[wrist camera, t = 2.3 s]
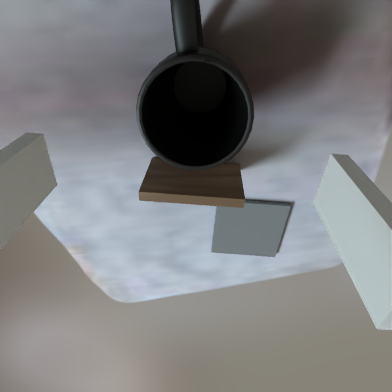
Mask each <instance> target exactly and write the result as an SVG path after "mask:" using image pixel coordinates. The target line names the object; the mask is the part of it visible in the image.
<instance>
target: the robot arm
mask: <svg viewBox="0 0 392 392" xmlns="http://www.w3.org/2000/svg"><path fill="white" fill-rule="evenodd" d="M56 186H57V182H56V179H55V175H54V171H53V168H52V164H51V161H50V157H49V154H48V150H47V146H46V143H45V139H44V136H43V134H38V133H25V134H24V135H22V136H21V137H19V138H18V139H16V140H15V141H13V142H12V143H10V144H9V145H8V146H6V147H5V148H3V149H2V150H0V250H1V248H2V247H3V246H4V245H5V244H6V243H7V242H8V240H9V239H10V238H11V237H12V236H13V235H14V234H15V232H16V231H17V230H18V229H19V228H20V227H21V225H22V224H23V223H24V222H25V221H26V220H27V219H28V218H29V216H30V215H31V214H32V213H33V212H34V211H35V210H36V208H37V207H38V206H39V205H40V204H41V203H42V202H43V200H44V199H45V198H46V197H47V196H48V195H49V194H50V192H51V191H52V190H53V189H54V188H55V187H56ZM313 204H314V206H315V208H316V210H317V212H318V214H319V216H320V218H321V220H322V222H323V224H324V226H325V228H326V230H327V232H328V234H329V236H330V237H331V239H332V241H333V243H334V245H335V247H336V249H337V251H338V253H339V255H340V257H341V259H342V261H343V263H344V265H345V267H346V269H347V271H348V273H349V275H350V277H351V279H352V281H353V283H354V285H355V286H356V289H357V291H358V293H359V295H360V296H361V298H362V300H363V302H364V304H365V306H366V308H367V310H368V312H369V314H370V316H371V318H372V320H373V322H374V324H375V326H376V328H377V329H384V330H392V203H391V202H390V201H389V200H388V199H387V197H386V196H385V195H384V194H383V193H382V192H381V191H380V190H379V189H378V188H377V186H376V185H375V184H374V183H373V182H372V181H371V180H370V179H369V178H368V177H367V175H366V174H365V173H364V172H363V171H362V170H361V169H360V168H359V167H358V166H357V164H356V163H355V162H354V161H353V160H352V159H351V158H350V157H349V156H348V155H340V154H331V155H330V158H329V161H328V163H327V166H326V169H325V172H324V174H323V177H322V180H321V182H320V185H319V188H318V191H317V193H316V196H315V199H314V202H313Z"/></svg>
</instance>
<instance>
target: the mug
mask: <svg viewBox="0 0 392 392" xmlns="http://www.w3.org/2000/svg"><path fill="white" fill-rule="evenodd" d="M170 1H171V13H172V23H173V31H174V39H175V47H176V52H175V53H173V54H171V55H169V56H168V57H166V58H165V59H164V60H163V61H162V62H160V63H159V64H158V65H157V66H156V67H155V68H154V69H153V70H152V72H151V73H150V74H149V76H148V77H147V78H146V80H145V81H144V82H143V85H142V87H141V90H140V92H139V94H138V100H137V106H136V113H137V122H138V126H139V129H140V132H141V135H142V137H143V139H144V140H145V142H146V144H147V145H148V147H149V148H150V149H151V150H152V151H153V152H154V154H156V155H157V156H158V157H159V158H161V159H162V160H163V161H165V162H167V163H169V164H171V165H173V166H175V167H178V168H182V169H186V170H206V169H211V168H214V167H217V166H220V165H222V164H223V163H225V162H227V161H229V160H230V159H231V158H233V157H234V156H235V155H236V154H237V153H238V152H239V151H240V150H241V148H242V147H243V146H244V144H245V143H246V141H247V139H248V137H249V135H250V132H251V130H252V125H253V120H254V106H253V100H252V97H251V93H250V90H249V88H248V85H247V83H246V81H245V79H244V77H243V75H242V74H241V72H240V70H239V69H238V67H237V66H236V65H235V64H234V63H233V62H232V61H231V60H230V59H228V58H227V57H225V56H224V55H222V54H221V53H219V52H217V51H214V50H211V49H208V48H203V36H202V24H201V14H200V5H199V0H170Z"/></svg>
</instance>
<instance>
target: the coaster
mask: <svg viewBox="0 0 392 392" xmlns="http://www.w3.org/2000/svg"><path fill="white" fill-rule="evenodd" d="M290 208H291V205H290V203H277V202H263V201H249V200H245V202H244V208H237V207H223V206H217V207H216V216H215V224H214V233H213V241H212V252H215V253H228V254H242V255H255V256H269V257H275V255H276V252H277V249H278V246H279V243H280V239H281V236H282V233H283V230H284V227H285V224H286V220H287V217H288V214H289V211H290Z"/></svg>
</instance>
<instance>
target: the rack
mask: <svg viewBox="0 0 392 392" xmlns="http://www.w3.org/2000/svg"><path fill="white" fill-rule="evenodd" d="M139 200H140V201H154V202H168V203H182V204H196V205H209V206H223V207H237V208H244V202H245V196H244V190H243V184H242V178H241V172H240V165H239V164H234V163H223V164H222V165H220V166H217V167H214V168H211V169H206V170H186V169H182V168H178V167H175V166H173V165H171V164H169V163H167V162H165V161H163V160H162V159H161V158H152V160H151V162H150V165H149V167H148V170H147V172H146V175H145V177H144V180H143V182H142V185H141V187H140V190H139Z"/></svg>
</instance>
